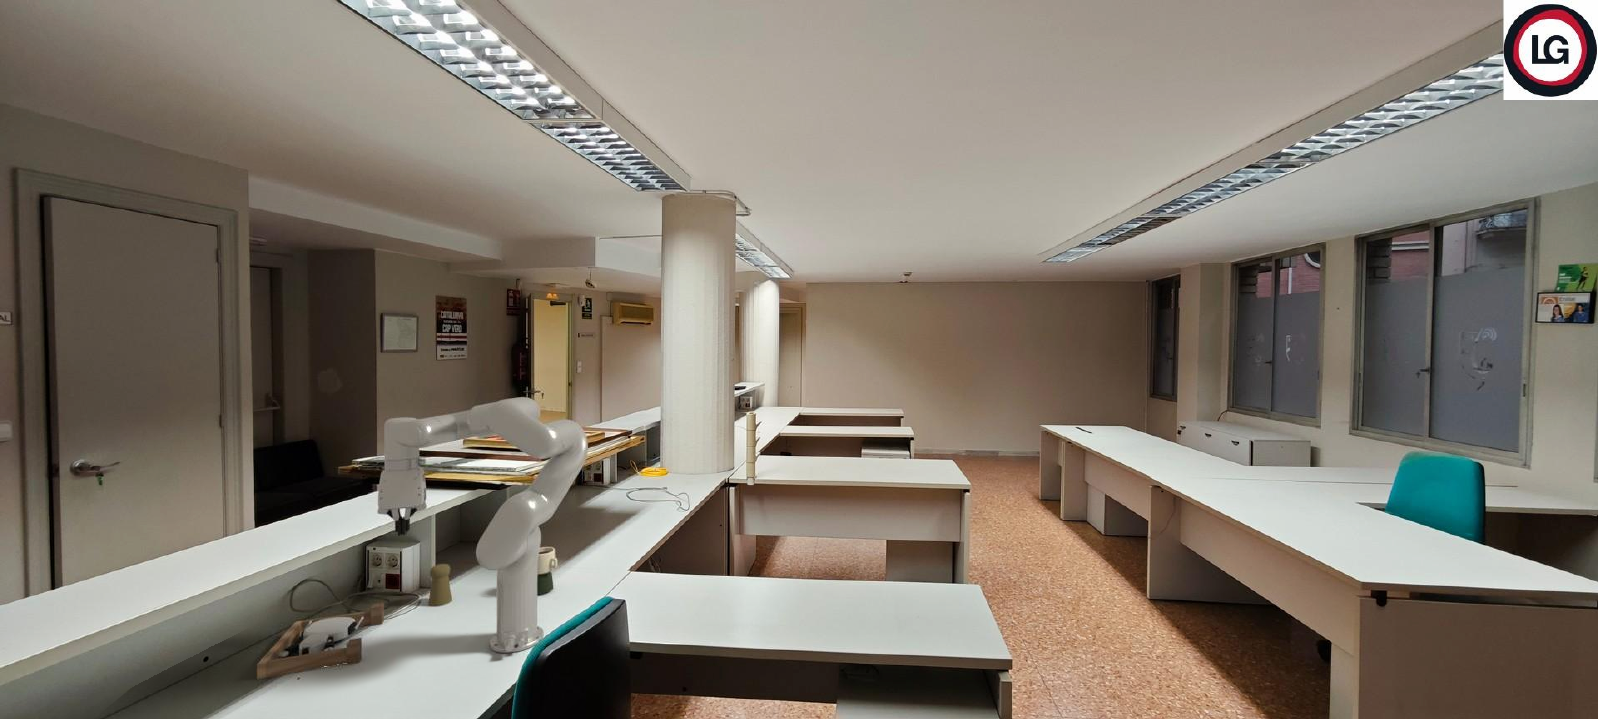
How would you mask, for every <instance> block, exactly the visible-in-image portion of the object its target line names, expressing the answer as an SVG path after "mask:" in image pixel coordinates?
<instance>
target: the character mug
mask: <svg viewBox="0 0 1598 719" xmlns="http://www.w3.org/2000/svg"><path fill="white" fill-rule="evenodd" d="M557 568H558V558H556V549H555V547H552V546H542V547H541V546H540V550H539V556H538V571H537V595H541V594H546V593H548V592H550V591H553V590H554V580H553V574H552V571H554V570H556V569H557Z"/></svg>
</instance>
